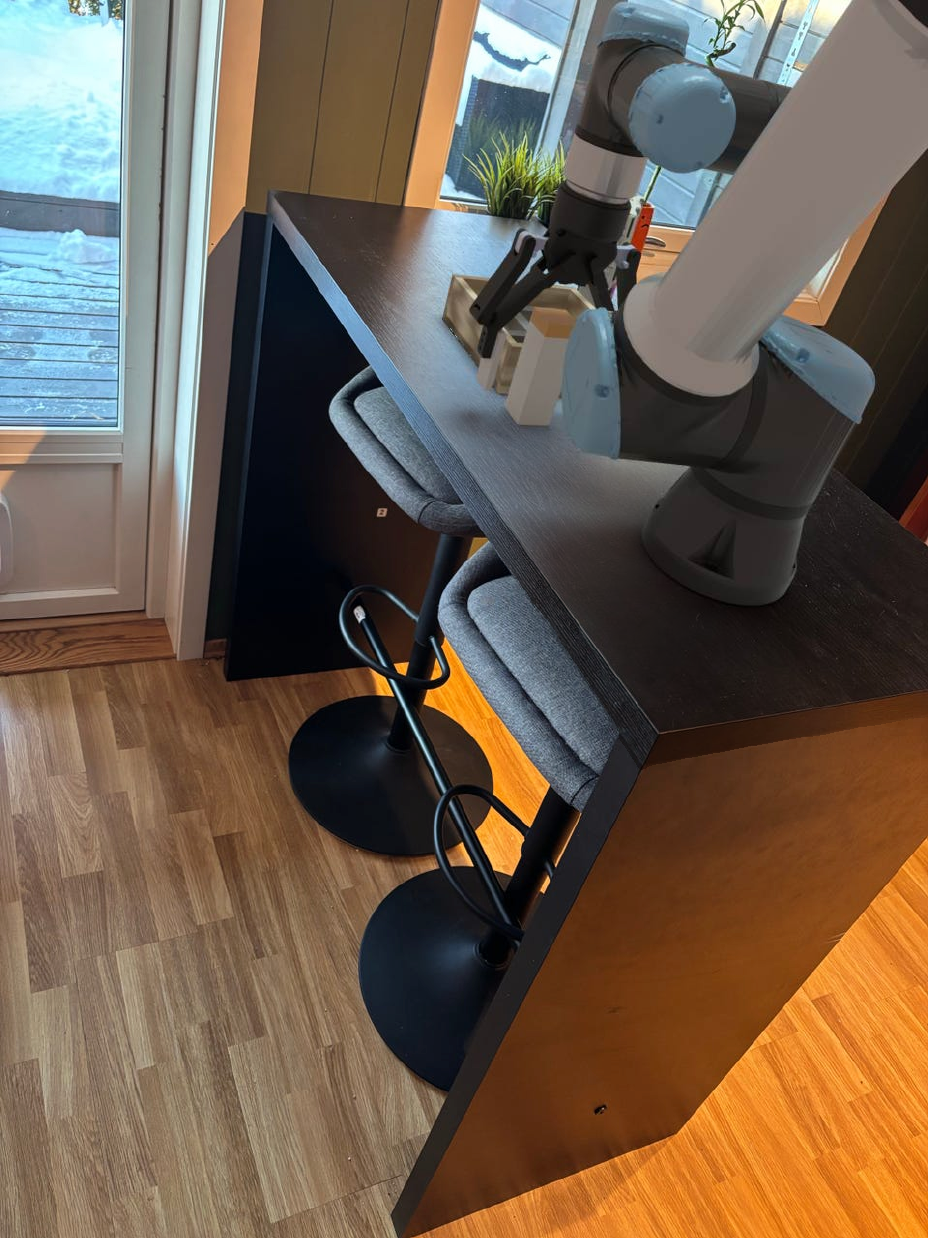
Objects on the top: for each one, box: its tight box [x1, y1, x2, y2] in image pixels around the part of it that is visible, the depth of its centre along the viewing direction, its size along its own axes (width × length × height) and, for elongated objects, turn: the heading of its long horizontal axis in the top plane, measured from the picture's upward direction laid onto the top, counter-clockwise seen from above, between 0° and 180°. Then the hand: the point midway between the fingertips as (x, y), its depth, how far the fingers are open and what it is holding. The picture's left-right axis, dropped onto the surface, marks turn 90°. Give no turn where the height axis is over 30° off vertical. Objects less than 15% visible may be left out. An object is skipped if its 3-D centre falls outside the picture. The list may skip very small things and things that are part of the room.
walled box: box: [441, 273, 596, 398], centre depth 120 cm, size 20×18×6 cm
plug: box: [504, 307, 576, 427], centre depth 105 cm, size 4×4×12 cm
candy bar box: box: [576, 194, 646, 308], centre depth 135 cm, size 11×5×16 cm, turn 164°
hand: (535, 387), depth 107 cm, fingers open, 12 cm apart
